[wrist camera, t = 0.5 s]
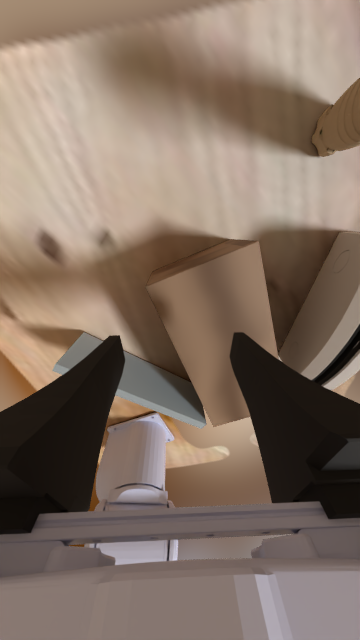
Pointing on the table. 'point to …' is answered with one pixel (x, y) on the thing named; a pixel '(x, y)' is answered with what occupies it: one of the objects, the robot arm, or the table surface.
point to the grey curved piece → (329, 319)
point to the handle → (339, 124)
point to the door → (144, 384)
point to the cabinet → (215, 318)
